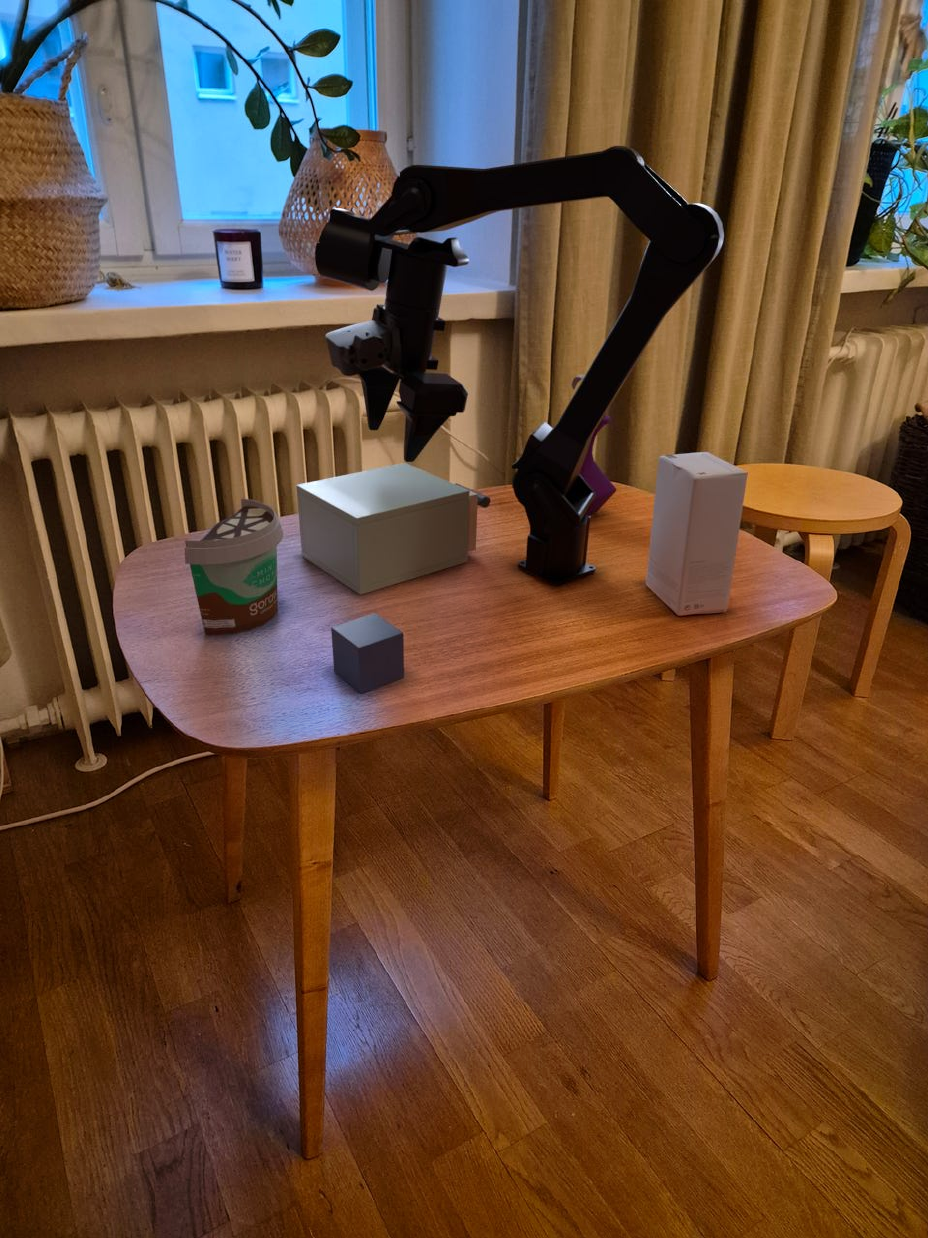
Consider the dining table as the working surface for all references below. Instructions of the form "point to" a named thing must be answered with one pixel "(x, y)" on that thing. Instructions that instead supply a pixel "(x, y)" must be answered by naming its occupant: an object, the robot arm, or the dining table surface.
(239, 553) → the food container
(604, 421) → the perfume bottle
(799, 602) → the dining table surface
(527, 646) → the dining table surface
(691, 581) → the cosmetic box
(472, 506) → the tray
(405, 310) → the robot arm
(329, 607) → the dining table surface
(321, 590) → the dining table surface
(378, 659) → the block
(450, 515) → the grey storage box
